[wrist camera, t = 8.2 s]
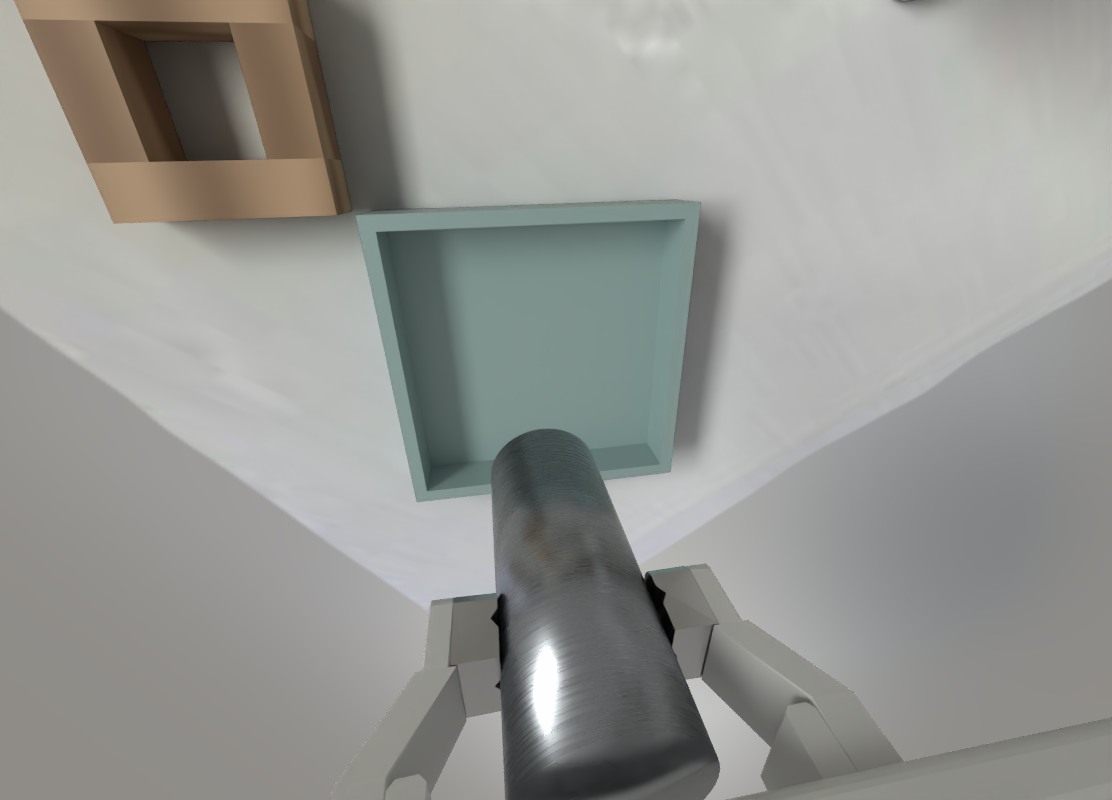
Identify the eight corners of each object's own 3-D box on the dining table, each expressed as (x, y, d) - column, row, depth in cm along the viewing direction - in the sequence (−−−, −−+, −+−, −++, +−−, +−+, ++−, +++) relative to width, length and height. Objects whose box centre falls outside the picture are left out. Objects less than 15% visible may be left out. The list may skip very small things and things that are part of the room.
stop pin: (596, 423, 15) (737, 716, 7) (593, 508, 16) (703, 824, 8) (486, 433, 14) (498, 761, 6) (494, 520, 16) (512, 867, 8)
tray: (675, 199, 27) (700, 202, 24) (653, 446, 35) (670, 472, 32) (370, 210, 25) (355, 215, 22) (422, 471, 33) (416, 502, 30)
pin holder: (300, -27, 20) (273, -58, 18) (352, 211, 25) (337, 215, 22) (52, -34, 19) (-17, -69, 16) (154, 218, 23) (113, 223, 21)
